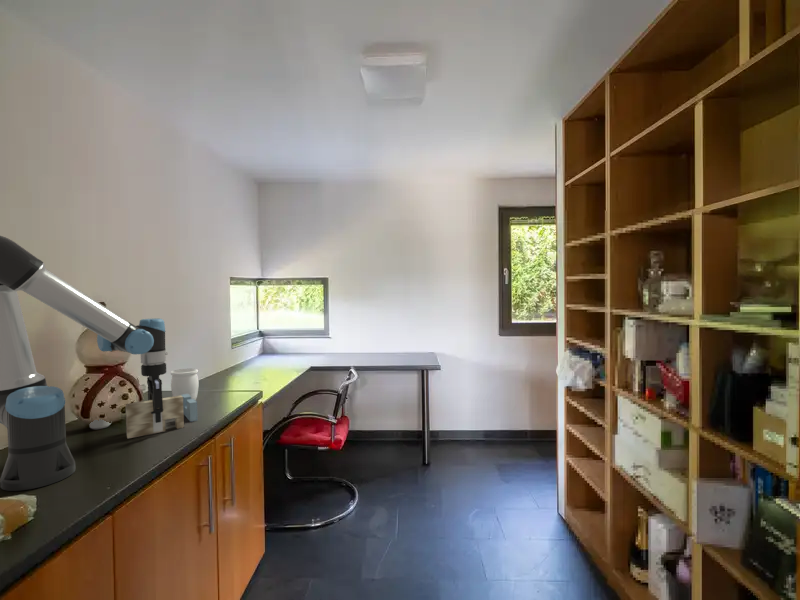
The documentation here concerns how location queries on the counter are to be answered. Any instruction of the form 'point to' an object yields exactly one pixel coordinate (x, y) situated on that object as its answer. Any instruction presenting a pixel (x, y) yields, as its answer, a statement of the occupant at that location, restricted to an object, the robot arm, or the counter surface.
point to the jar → (185, 382)
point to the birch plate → (142, 419)
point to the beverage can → (99, 424)
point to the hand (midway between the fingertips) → (156, 427)
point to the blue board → (189, 408)
